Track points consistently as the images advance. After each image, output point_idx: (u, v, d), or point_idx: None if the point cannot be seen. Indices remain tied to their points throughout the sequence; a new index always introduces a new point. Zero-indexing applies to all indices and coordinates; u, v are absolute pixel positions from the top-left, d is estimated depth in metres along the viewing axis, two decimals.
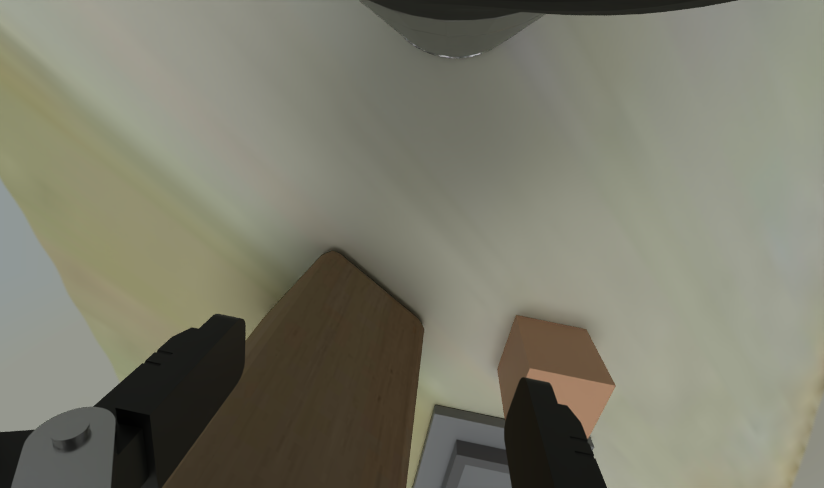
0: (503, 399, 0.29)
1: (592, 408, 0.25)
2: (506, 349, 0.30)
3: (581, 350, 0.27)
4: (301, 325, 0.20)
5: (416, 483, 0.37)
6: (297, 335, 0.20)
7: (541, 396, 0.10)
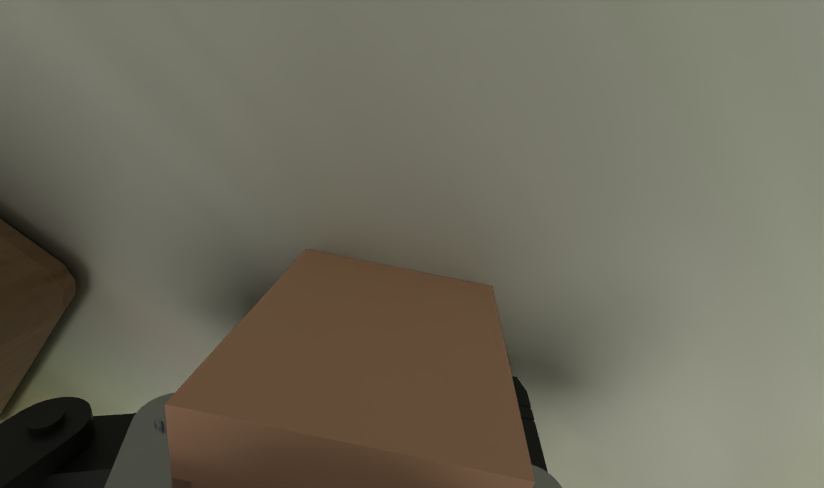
0: None
1: None
2: None
3: (449, 337, 0.08)
4: None
5: None
6: None
7: None
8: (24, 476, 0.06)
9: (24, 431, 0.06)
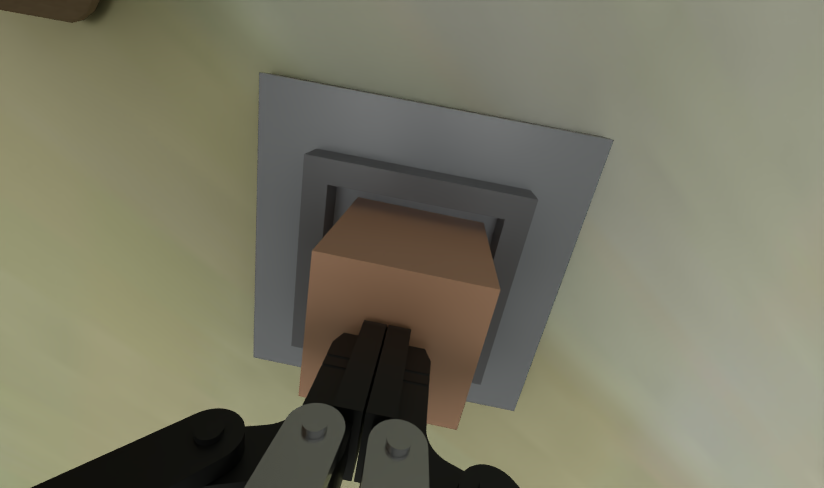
0: None
1: (458, 347, 0.12)
2: None
3: (455, 241, 0.14)
4: None
5: (257, 282, 0.19)
6: None
7: (395, 338, 0.11)
8: (176, 487, 0.06)
9: (191, 437, 0.07)
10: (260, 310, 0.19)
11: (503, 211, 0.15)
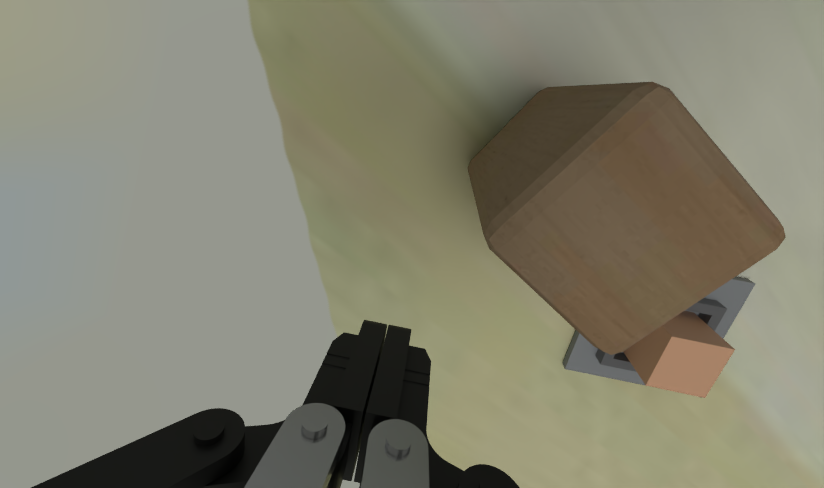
0: (635, 365, 0.37)
1: (714, 368, 0.34)
2: None
3: (698, 326, 0.36)
4: None
5: (579, 335, 0.41)
6: None
7: (395, 338, 0.11)
8: (177, 486, 0.06)
9: (191, 437, 0.07)
10: (576, 347, 0.41)
11: (712, 312, 0.37)
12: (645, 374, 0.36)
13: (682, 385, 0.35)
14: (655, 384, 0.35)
